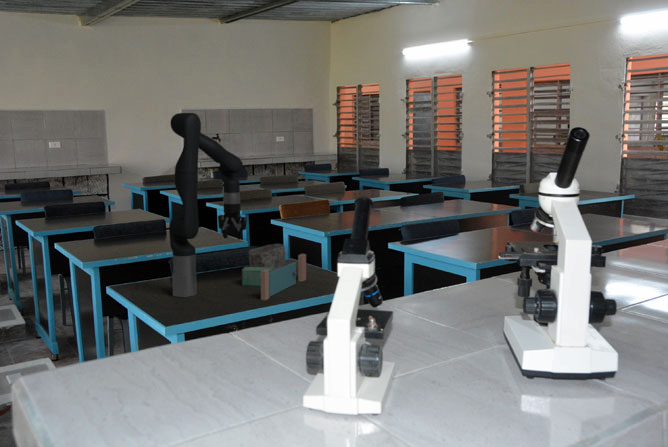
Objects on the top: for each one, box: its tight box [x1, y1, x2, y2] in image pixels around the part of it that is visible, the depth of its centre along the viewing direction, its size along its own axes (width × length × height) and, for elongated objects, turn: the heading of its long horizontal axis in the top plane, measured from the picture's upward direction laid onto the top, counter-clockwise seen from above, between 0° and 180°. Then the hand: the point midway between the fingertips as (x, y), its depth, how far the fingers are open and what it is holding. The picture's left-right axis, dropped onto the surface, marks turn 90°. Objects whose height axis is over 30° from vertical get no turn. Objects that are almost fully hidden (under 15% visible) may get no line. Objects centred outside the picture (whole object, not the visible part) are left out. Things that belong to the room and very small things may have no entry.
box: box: [241, 266, 274, 287], centre depth 285 cm, size 7×14×8 cm, turn 88°
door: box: [269, 261, 298, 298], centre depth 274 cm, size 25×3×11 cm, turn 157°
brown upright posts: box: [260, 253, 307, 301], centre depth 277 cm, size 38×2×12 cm, turn 157°
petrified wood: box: [248, 243, 287, 271], centre depth 303 cm, size 19×17×15 cm
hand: (232, 238), depth 288 cm, fingers open, 6 cm apart
